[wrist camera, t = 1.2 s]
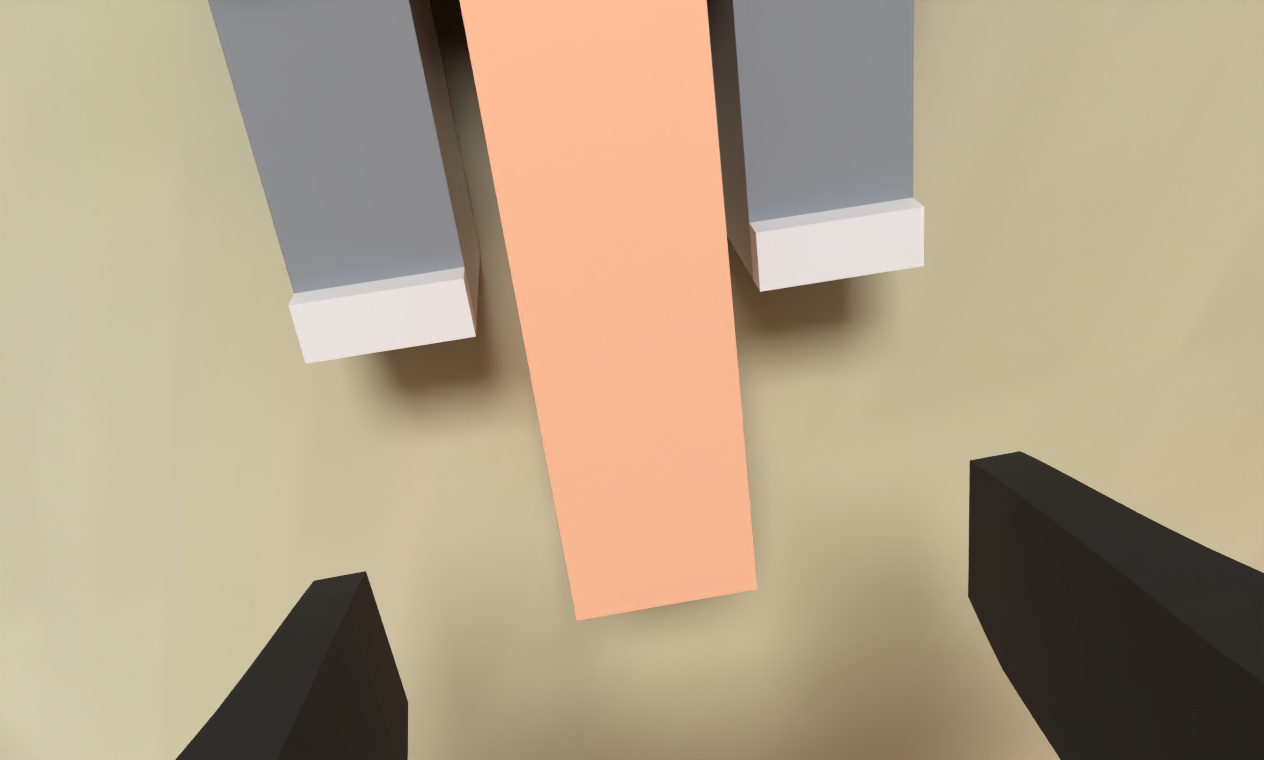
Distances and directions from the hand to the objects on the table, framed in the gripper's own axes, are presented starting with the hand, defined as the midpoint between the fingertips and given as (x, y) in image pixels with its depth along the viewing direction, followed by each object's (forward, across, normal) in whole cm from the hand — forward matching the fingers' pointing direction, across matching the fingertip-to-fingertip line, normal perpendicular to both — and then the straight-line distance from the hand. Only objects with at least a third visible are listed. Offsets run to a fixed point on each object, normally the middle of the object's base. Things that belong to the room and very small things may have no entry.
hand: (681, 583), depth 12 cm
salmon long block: (+10, 0, -2) cm, 10 cm away
